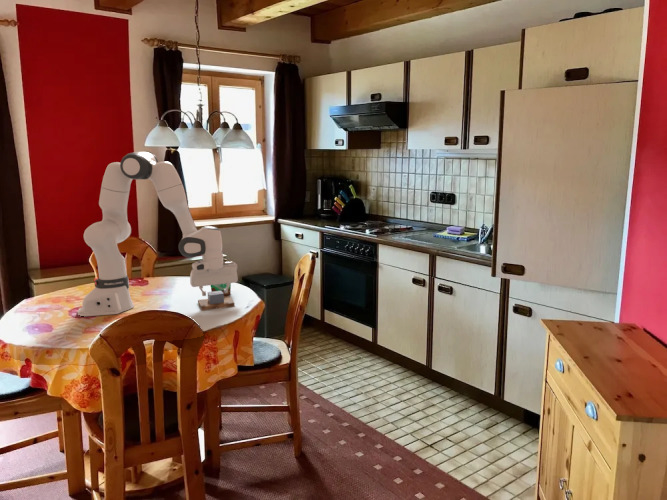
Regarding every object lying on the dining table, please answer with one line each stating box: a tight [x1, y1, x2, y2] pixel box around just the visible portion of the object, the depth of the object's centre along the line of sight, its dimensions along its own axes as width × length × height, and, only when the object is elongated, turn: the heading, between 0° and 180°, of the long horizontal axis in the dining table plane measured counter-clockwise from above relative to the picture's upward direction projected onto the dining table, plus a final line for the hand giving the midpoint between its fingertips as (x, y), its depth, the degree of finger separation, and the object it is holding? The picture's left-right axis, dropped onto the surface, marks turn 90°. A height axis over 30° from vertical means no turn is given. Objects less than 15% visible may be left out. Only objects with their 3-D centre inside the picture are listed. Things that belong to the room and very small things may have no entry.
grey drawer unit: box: [207, 291, 224, 304], centre depth 235 cm, size 6×6×4 cm
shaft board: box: [197, 295, 236, 311], centre depth 236 cm, size 14×12×4 cm
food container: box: [210, 283, 232, 297], centre depth 251 cm, size 12×6×10 cm, turn 143°
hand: (215, 294), depth 235 cm, fingers open, 8 cm apart
